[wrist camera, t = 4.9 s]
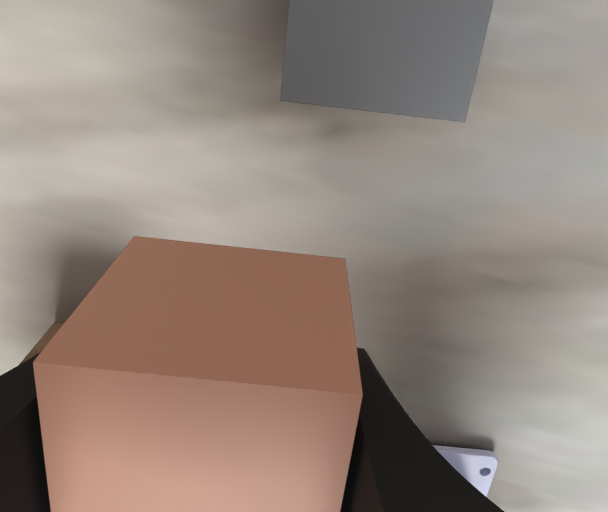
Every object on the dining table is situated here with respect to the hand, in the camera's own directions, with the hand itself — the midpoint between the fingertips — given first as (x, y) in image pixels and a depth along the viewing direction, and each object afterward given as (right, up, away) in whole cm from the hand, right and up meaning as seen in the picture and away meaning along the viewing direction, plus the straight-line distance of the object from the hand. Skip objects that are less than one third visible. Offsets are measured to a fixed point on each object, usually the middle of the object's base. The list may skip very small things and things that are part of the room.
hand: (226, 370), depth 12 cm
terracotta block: (0, +1, +1) cm, 1 cm away
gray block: (+4, +11, +5) cm, 13 cm away
